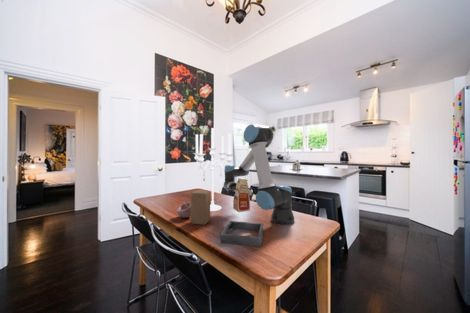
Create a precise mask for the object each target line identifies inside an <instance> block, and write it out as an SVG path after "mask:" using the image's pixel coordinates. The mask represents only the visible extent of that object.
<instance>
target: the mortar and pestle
mask: <svg viewBox="0 0 470 313" xmlns="http://www.w3.org/2000/svg"><path fill="white" fill-rule="evenodd" d="M176 213H177V215H178V217H180V218H183V219H187V218H191V200H189V201H182V203H181V204H180V205H179V206H178V207H177V208H176Z"/></svg>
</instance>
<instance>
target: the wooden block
mask: <svg viewBox="0 0 470 313" xmlns="http://www.w3.org/2000/svg"><path fill="white" fill-rule="evenodd" d="M190 202H191V216H190V224H191V225H202V226H203V225H206V224H207V223H209V221H210V220H211V191H210V190H207V189H206V190H205V189H204V190H201V189H197V190H193V192H191V193H190Z"/></svg>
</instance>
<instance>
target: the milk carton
mask: <svg viewBox="0 0 470 313" xmlns="http://www.w3.org/2000/svg"><path fill="white" fill-rule="evenodd" d="M236 183H237V185H236V188H235V190H236V191H238V196H236V195H233V201H232V202H233V203H232V208H233V210H234V211H235V212H237V213H244V212H250V211H251V199H250V196H251V195H249V188H250V187H249V183H248V179H243V178H239V177H237V181H236Z"/></svg>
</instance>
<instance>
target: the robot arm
mask: <svg viewBox="0 0 470 313" xmlns="http://www.w3.org/2000/svg"><path fill="white" fill-rule="evenodd" d="M244 129H245V130H244V132H243V139H244V141H245V142H246V143H248V147H249V148H250V151H249V153H248V154H247V155H246V156H245V158H244V160H243V161H242V162H241V164H240V166H235V165H234V164H231V165H230V164H227V165H224V182H223V187H224V189H225V190H226V192H227V193H228V195H232V196H234V195H236V196H238V191H236V190H235V188H236V185H237V182H235V178H236V177H237V178H239V177H245V176H248V175H249V174H250V169H251V167H252V166H253V165H255V171H256V175H257V180H258V185H259V186H258V187H257V193H256V195H255V202H256V204H257V206H258V207H259V208H260V209H261V210H264V211H269V210H272V212H271V215H270V220H271V222H273V223H275V224H279V225H292V224H294V223H295V215H294V212H293V209H292V204H293V203H292V201H293V198H292V194H293V192H292V190H293V189H292V187H290V186H288V185H278V184H275V183H274V181H273V175H272V172H271V167H270V162H269V158H268V153H267V148H268V147H269V146H270V145H271V144H272V142H273V141H274V140H273V139H274V131H273V129H272V128H271V127H270V126H268V125H261V124H256V123H254V124H249V125H247V126H246V127H245V128H244ZM248 188H249V196H252V188H250V187H248Z"/></svg>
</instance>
